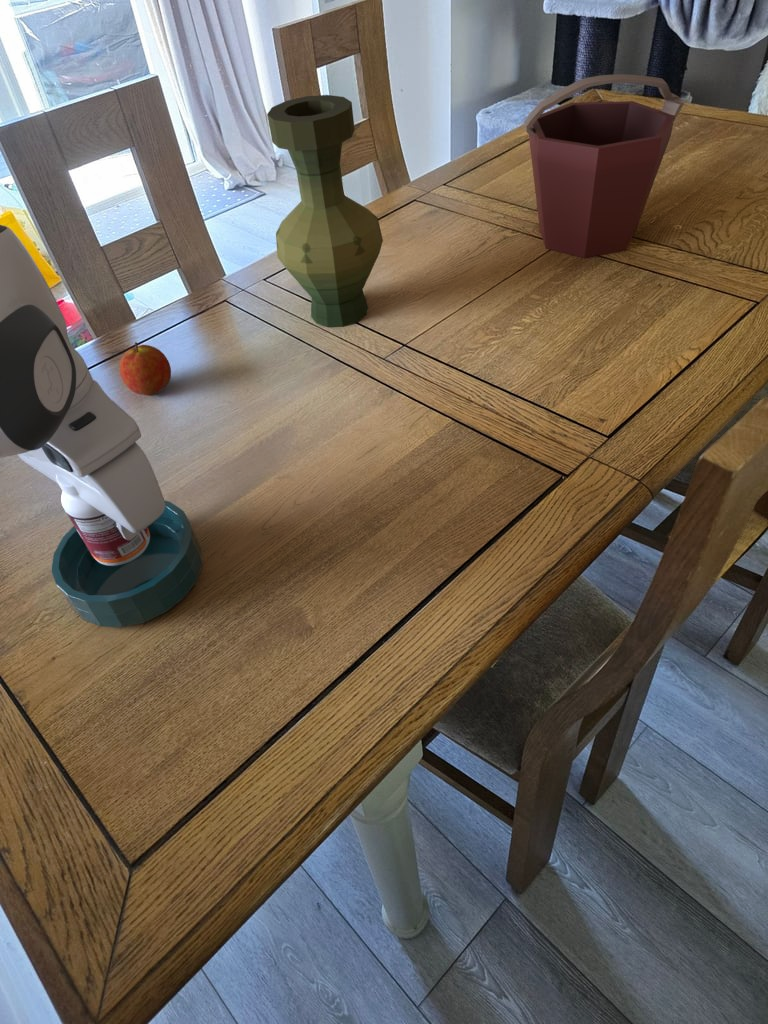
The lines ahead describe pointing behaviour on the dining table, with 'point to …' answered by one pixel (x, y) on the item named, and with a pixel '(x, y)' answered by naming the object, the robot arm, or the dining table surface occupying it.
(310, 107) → the vase
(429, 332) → the dining table surface
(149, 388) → the fruit
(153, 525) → the bowl
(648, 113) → the bucket
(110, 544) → the pill bottle
